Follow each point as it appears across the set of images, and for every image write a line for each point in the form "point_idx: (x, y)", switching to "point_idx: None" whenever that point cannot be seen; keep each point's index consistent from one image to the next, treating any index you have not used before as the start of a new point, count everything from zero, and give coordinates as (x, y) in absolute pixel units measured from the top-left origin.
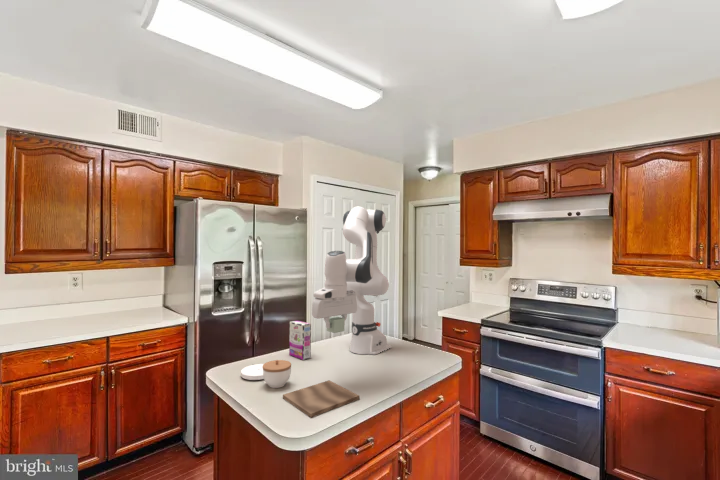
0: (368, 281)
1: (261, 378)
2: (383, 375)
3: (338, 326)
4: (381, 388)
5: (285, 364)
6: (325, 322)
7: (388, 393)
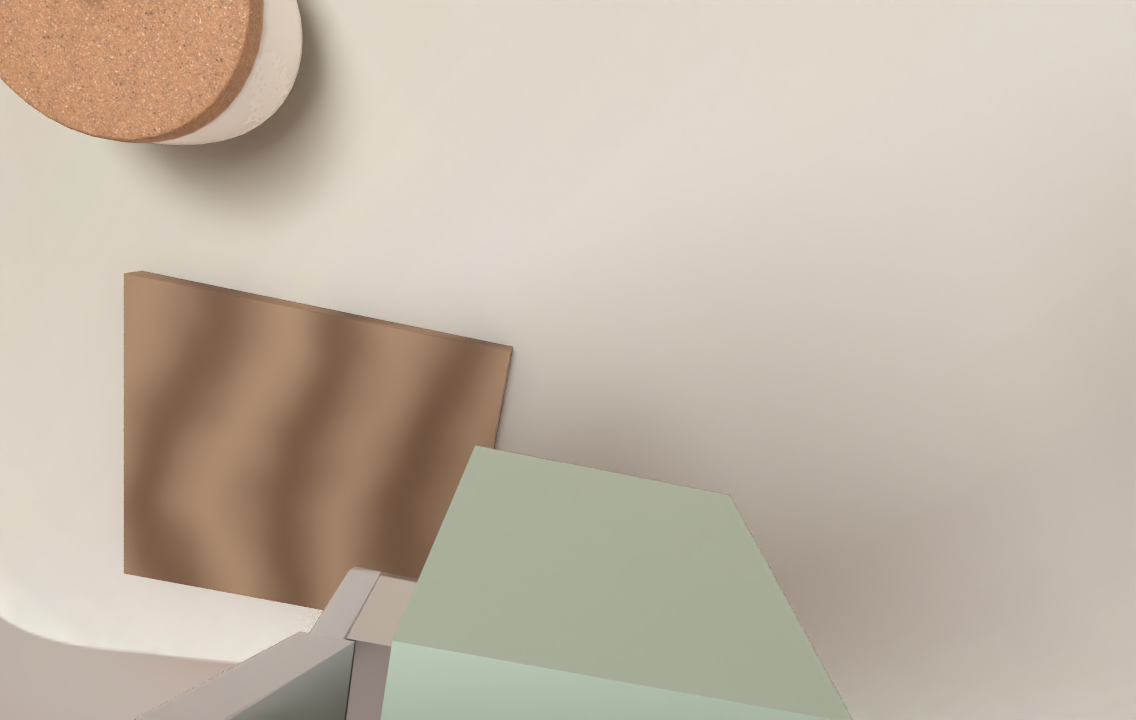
0: None
1: None
2: (851, 545)
3: None
4: None
5: (154, 65)
6: (271, 649)
7: None
